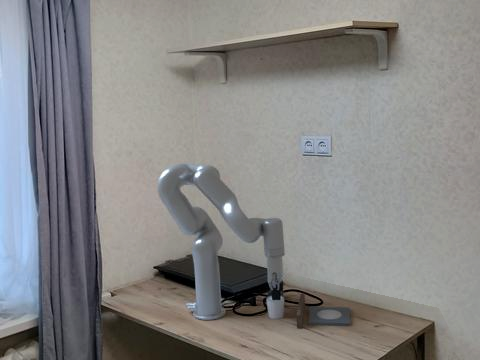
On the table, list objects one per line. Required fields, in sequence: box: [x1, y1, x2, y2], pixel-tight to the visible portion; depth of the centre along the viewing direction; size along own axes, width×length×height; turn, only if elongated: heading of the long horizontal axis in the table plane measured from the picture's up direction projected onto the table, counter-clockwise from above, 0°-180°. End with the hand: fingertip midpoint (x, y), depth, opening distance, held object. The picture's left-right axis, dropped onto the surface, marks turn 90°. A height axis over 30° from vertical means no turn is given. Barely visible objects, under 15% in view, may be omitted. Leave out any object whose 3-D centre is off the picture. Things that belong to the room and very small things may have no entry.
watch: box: [267, 281, 285, 298], centre depth 222 cm, size 6×8×11 cm
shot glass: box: [266, 296, 285, 320], centre depth 204 cm, size 7×7×7 cm
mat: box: [307, 306, 351, 327], centre depth 201 cm, size 15×15×1 cm
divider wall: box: [296, 292, 306, 329], centre depth 202 cm, size 2×22×5 cm, turn 170°
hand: (277, 295), depth 203 cm, fingers open, 9 cm apart
